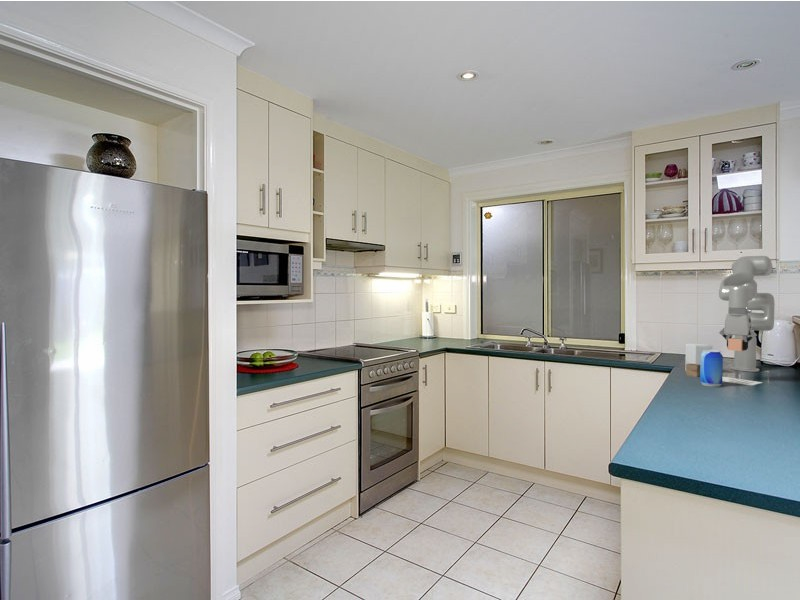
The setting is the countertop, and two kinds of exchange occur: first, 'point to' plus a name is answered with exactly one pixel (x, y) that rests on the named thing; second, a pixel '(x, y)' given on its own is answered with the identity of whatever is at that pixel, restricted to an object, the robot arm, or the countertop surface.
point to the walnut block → (693, 370)
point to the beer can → (711, 368)
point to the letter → (740, 381)
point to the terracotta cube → (735, 344)
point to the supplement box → (695, 353)
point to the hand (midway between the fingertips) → (737, 349)
